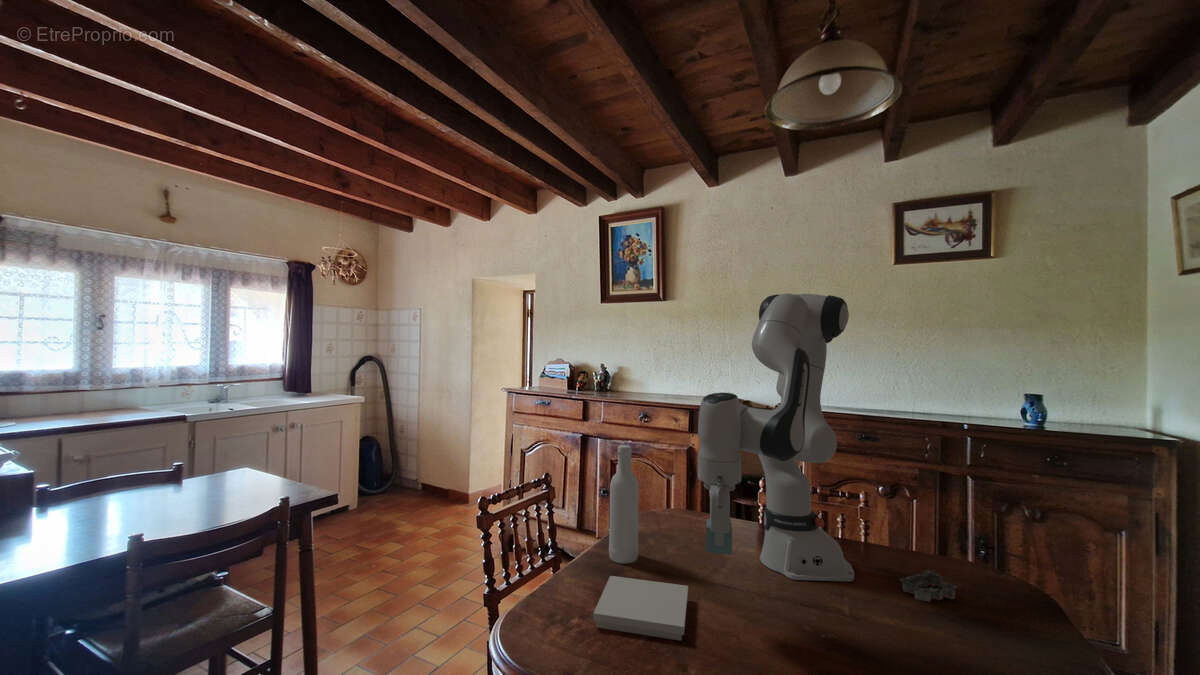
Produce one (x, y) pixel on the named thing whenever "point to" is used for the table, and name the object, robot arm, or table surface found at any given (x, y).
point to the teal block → (714, 548)
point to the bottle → (624, 510)
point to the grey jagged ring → (920, 586)
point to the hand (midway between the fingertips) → (718, 538)
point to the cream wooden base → (643, 607)
